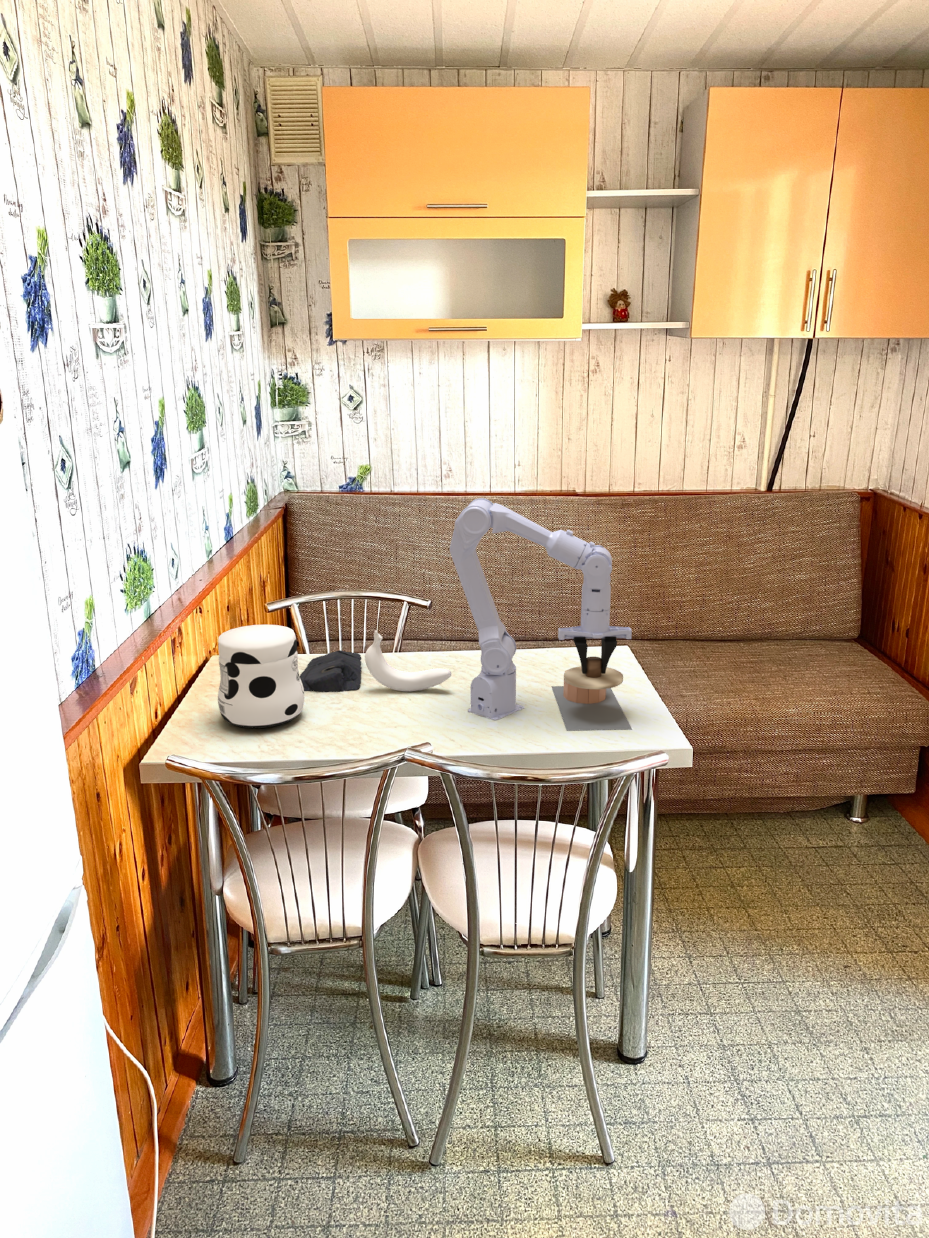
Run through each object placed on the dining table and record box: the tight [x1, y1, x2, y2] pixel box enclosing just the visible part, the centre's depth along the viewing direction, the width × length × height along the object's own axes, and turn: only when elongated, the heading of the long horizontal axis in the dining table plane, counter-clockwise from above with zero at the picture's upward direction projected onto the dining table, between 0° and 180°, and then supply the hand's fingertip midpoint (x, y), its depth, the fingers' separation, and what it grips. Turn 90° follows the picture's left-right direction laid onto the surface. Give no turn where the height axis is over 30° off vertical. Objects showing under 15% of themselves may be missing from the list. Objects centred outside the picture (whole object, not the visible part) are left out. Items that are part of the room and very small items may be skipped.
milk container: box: [217, 624, 305, 729], centre depth 189 cm, size 17×17×18 cm
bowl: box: [563, 669, 606, 704], centre depth 200 cm, size 9×9×5 cm
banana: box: [364, 630, 452, 692], centre depth 204 cm, size 5×19×15 cm, turn 90°
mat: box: [551, 685, 633, 732], centre depth 195 cm, size 25×13×1 cm, turn 2°
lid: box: [563, 656, 624, 689], centre depth 189 cm, size 12×12×4 cm
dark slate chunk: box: [299, 650, 362, 693], centre depth 215 cm, size 15×22×5 cm
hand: (593, 672), depth 189 cm, fingers closed on lid, 3 cm apart
